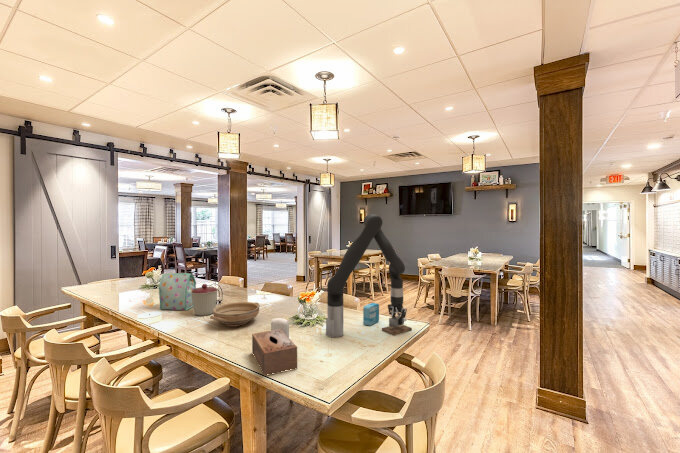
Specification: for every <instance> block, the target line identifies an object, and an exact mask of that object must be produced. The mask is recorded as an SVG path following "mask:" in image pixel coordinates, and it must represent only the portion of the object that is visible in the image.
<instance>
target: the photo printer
mask: <svg viewBox="0 0 680 453" xmlns="http://www.w3.org/2000/svg"><path fill="white" fill-rule="evenodd" d="M279 329H281V330H282V331H283V332H284V333H285V334H286V335H287V337H288V338H289V339H290V322H289V320H288V319H285V318H282V317H281V318H280V317H276V318H272V319H271V321H270V331H272V330H279Z"/></svg>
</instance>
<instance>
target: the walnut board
mask: <svg viewBox="0 0 680 453" xmlns="http://www.w3.org/2000/svg"><path fill="white" fill-rule="evenodd" d="M412 330H413V328H412V327H411V326H407V325H405V324H403V325H400V326H396V327H391V326H389V325H388V326H385V327H382V328H381V331H382V332H383V333H386V334H389V335H391V336H394V337H395V336H397V335H402V334H405V333H409V332H411V331H412Z"/></svg>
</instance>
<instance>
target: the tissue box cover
mask: <svg viewBox="0 0 680 453" xmlns="http://www.w3.org/2000/svg"><path fill="white" fill-rule="evenodd" d="M251 335H252V337H251V340H252V341H251V342H252V343H251V344H252V346H251V347H252V349H251V350H252V352H251V353H253V354H254V355H253V354H252V355H253V357H254V356H255V357H254V359H255V358H256V359H255V361H256V360H257V361H256V363H257V362H258V363H257V364H259V365H260V366H259V365H258V366H259V368H260V367H261V368H260V370H261V369H262V370H261V371H263V372H262V374H263V373H264V374H263V375H267V374H272V373H277V372H281V371H285V370H290V369H294V370H296V369H295V368H297V369H298V346H297V345H296V344H295V343H294V342H293V341H292V339H290V337H289V338H288V337H287V335H286V334H285V333H284V332H283V331H282V330H281V329H279V330H272V331H271V330H267V331H260V332H255V333H254V332H253V333H252V334H251ZM290 371H291V370H290ZM285 372H286V371H285ZM281 373H282V372H281ZM277 374H278V373H277ZM272 375H273V374H272Z"/></svg>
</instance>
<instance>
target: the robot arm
mask: <svg viewBox="0 0 680 453" xmlns="http://www.w3.org/2000/svg"><path fill="white" fill-rule="evenodd" d="M363 224H364V227H363V229H362V232H360V234H359V236H358V237H357V238H356V239H355V240H353V241H352V243H351V244H350V245H349V246H348V248H347V250H346V252H345V253H344V256H343V258H342V260H341V262H340V265H339V267H338V269H337V271H336V272H335V274H334V275H333V276H330V278H329V279H328V281H327V284H326V286H327V288H326V289H327V291H326V292H327V293H326V294H327V296H326V298H327V304H326V305H327V311H326V312H327V317H326V318H325V335H326V336H328V337H329V338H340V337H343V336H344V288H345V285H346V283H347V282H348V279H349V278H350V275H351V274H352V273H353V271H354V270H355V269H356V267H357V265H358V264H359V263H360V261H361V260H362V258H363V256H364V254H365V252H366V251H367V249H368V247H369V246H370V244H371V242H372V240H373V239H374V240H375V242H376V244H377V245H378V248H379V249H380V251H381V253H382V255H383V257H384V259H385V260H386V261H387V262H388V263H389V265H388V274H389V278H390V304H387V309H388V314H389V315H390V316H391V318H392V317H396V316H398V318H399V325H402V319H403V318H406V315H407V311H408V309H407V308H405V307H404V305H403V304H404V280H403V278H402V277H401V275H402V274H404V273H405V270H406V267H405V263H404V262H403V261H402V259H401V257H399V255H398V254H397V252H396V250H395V248H394V247H393V245H392V244H391V242H390V240H389V239H388V238H387V237H386V235H385V233H384V232H383V230H382V226H383V219H382V217H381V216H380V215H378V214H373V213H369V214H367V215H366V216H365V217H364V218H363Z"/></svg>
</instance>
